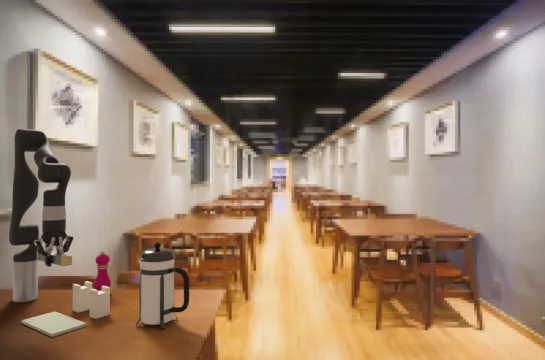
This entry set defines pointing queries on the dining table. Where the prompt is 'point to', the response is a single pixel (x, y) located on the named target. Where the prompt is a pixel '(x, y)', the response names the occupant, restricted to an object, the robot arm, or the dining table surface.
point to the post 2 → (99, 302)
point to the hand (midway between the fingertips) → (53, 265)
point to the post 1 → (81, 297)
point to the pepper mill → (102, 271)
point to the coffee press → (159, 287)
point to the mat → (53, 323)
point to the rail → (57, 259)
